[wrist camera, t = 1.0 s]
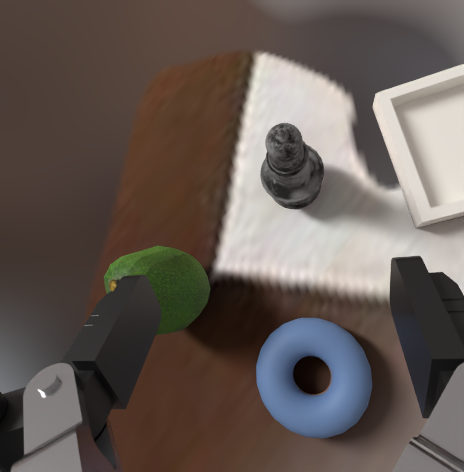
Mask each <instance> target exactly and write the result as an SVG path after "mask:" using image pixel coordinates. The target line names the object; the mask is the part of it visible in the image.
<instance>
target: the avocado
mask: <svg viewBox="0 0 464 472" xmlns="http://www.w3.org/2000/svg"><path fill="white" fill-rule="evenodd" d="M131 275H146V276H147V277H148V279H149V281H150V284H151V286H152V288H153V291H154V293H155V295H156V297H157V300H158V302H159V304H160V308H161V321H160V325H159V327H158V330H157V332H156V335H159V334H166V333H171V332H176V331H180V330H182V329H184V328H186V327H187V326H188V325H189V324H190V323H191V322H193V321H194V320H195V319H196V318H197V317H198V316H199V315H200V313H201V312H202V310H203V309H204V307H205V306H206V304H207V303H208V299H209V294H210V290H211V288H210V284H209V280H208V276H207V274H206V272H205V271H204V269H203V267H202V265H201V264H200V263H199V262H198V261H197V260H196V259H195V258H194V257H193V256H192V255H190V254H187V253H185V252H183V251H181V250H178V249H174V248H169V247H163V246H155V247H152V248H149V249H146V250H143V251H139V252H136V253H132V254H129V255H125V256H123V257H120V258H119V259H118V260H116V261H115V262H113V263H112V264H111V265H110V267H109V269H108V271H107V273H106V274H105V276H104V280H105V288H106V291H107V294H108V293H109V292H110V291H114V289H115V287H116V286H117V284H118V282H119V281H120V279H121V278H122V277H123V276H131Z"/></svg>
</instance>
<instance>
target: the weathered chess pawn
mask: <svg viewBox="0 0 464 472" xmlns="http://www.w3.org/2000/svg"><path fill="white" fill-rule="evenodd" d="M266 149H267V154H266V158H265V160H264V162H263V164H262V168H261V181H262V184H263V187H264V188H265V190H266V191H267V193H268V194H269V195H271V196H272V197H273V199H274V200H275V201H276V202H277V203H278V204H279V205H281V206H283V207H285V208H290V209H299V208H302V207H305V206H307V205H309V204H310V203H312V202H313V201H314V200H315V198H316V197H317V195H318V194H319V191H320V187H321V182H322V179H323V175H324V166H323V163H322V160H321V157H320V156H319V155H318V153H317V152H316V151H315V150H314V149H312V148H311V147H310V146H307V145H306V144H305V142H304V141H303V140H302V136H301V133H300V131H299V130H298V129H297V128H296V127H295V126H294V125H292V124H288V123H281V124H278V125H276V126H274V127H273V128H272V129H271V130H270V131H269V132H268V134H267V137H266Z"/></svg>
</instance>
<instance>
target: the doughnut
mask: <svg viewBox="0 0 464 472" xmlns="http://www.w3.org/2000/svg"><path fill="white" fill-rule="evenodd" d="M306 356H315V357H318V358H320V359H322V360H323V361H324V362H325V363H326V364H327V365H328V367H329V370H330V372H331V380H330V384H329V386H328V387H327V389H326V390H325V391H323V392H322V393H319V394H309V393H306V392H304V391H302V390H301V389H300V388H299V387H298V386H297V385H296V383H295V381H294V378H293V370H294V366H295V365H296V363H297V361H299V360H300V359H301V358H303V357H306ZM256 373H257V386H258V389H259V392H260V395H261V398H262V401H263V403H264V405H265V406H266V407H267V409H268V410H269V412H270V413H271V415H272V416H273V418H275V419H276V420H277V421H278V422H279V423H281V424H282V425H283V426H284V427H285V428H287V429H288V430H290V431H292V432H295V433H297V434H300V435H302V436H305V437H313V438H328V437H331V436H335V435H338V434H342V433H344V432H345V431H346V430H348V429H349V428H350V427H352V426H353V425H355V424H356V423H357V422H358V421H359V419H360V418H361V416H362V415H363V413H364V412H365V410H366V409H367V407H368V403H369V399H370V395H371V391H372V377H371V367H370V365H369V362H368V360H367V357H366V355H365V352H364V350H363V348H362V347H361V346H360V345H359V344H358V342H357V341H356V340H355V339H354V337H353V336H352V335H351V334H350V333H349V332H347V331H346V330H344V329H343V328H341V327H340V326H338V325H337V324H335V323H332V322H329V321H326V320H323V319H319V318H299V319H296V320H293V321H290V322H287V323H284V324H283V325H281V326H280V327H279V328H277V329H276V330H275V331H274V332H272V333H271V334H270V335H269V337H268V338H267V340H266V341H265V343H264V344H263V346H262V348H261V350H260V354H259V358H258V361H257V365H256Z"/></svg>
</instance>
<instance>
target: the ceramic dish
mask: <svg viewBox="0 0 464 472" xmlns="http://www.w3.org/2000/svg"><path fill="white" fill-rule="evenodd" d="M373 110H374V112H375V115H376V118H377V121H378V124H379V126H380V129H381V132H382V135H383V138H384V141H385V143H386V146H387V149H388V152H389V155H390V157H391V160H392V163H393V166H394V169H395V172H396V174H397V177H398V180H399V183H400V186H401V188H402V191H403V194H404V197H405V200H406V203H407V205H408V208H409V211H410V214H411V217H412V219H413V222H414V225H415V228H418V227H422V226H426V225H430V224H434V223H437V222H441V221H445V220H449V219H453V218H457V217H461V216H464V64H462V65H459V66H456V67H453V68H450V69H447V70H444V71H441V72H438V73H435V74H433V75H430V76H426V77H423V78H420V79H417V80H414V81H411V82H408V83H406V84H402V85H399V86H396V87H393V88H390V89H387V90H384V91H381V92H378V93H376V95H375V99H374V103H373Z"/></svg>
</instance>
